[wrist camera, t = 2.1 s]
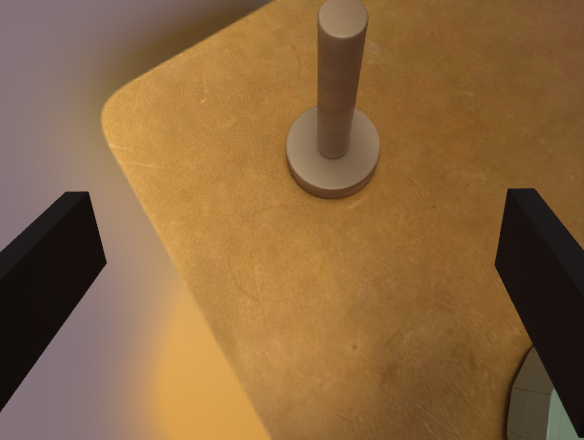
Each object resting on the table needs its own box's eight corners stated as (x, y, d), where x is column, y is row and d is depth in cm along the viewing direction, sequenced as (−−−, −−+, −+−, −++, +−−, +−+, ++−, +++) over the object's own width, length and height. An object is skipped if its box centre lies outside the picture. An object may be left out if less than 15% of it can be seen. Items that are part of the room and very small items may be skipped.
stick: (308, 212, 34) (302, 107, 19) (274, 135, 35) (244, -16, 21) (391, 178, 34) (447, 48, 20) (354, 103, 36) (379, -69, 21)
